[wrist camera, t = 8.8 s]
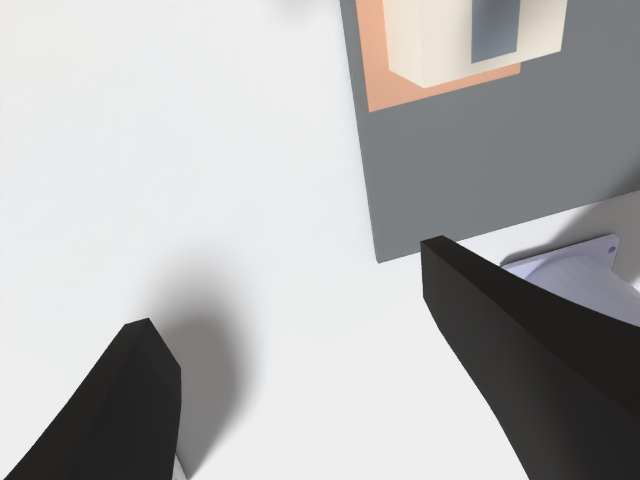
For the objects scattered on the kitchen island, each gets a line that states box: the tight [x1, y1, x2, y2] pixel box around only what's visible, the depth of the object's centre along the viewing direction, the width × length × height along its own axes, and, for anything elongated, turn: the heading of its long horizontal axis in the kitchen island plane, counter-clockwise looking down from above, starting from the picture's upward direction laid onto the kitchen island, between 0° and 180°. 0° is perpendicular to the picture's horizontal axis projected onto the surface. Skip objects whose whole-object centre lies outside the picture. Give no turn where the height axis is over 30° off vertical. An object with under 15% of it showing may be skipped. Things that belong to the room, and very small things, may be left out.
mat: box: [340, 0, 640, 264], centre depth 17 cm, size 20×17×1 cm
